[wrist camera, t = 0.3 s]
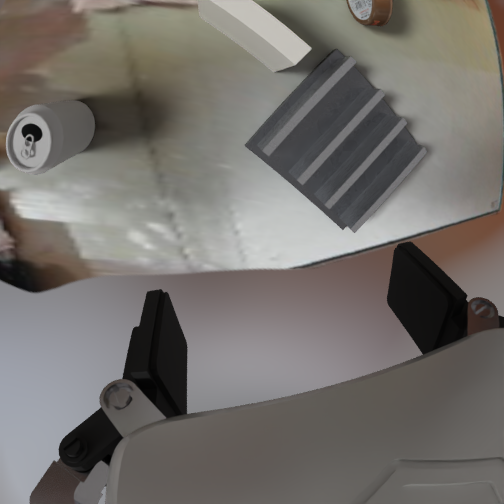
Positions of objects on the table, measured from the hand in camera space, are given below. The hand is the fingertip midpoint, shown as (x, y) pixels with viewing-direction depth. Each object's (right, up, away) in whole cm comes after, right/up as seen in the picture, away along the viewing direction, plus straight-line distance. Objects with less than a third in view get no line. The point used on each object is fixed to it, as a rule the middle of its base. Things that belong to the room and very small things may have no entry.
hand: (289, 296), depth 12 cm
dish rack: (+11, +17, +26) cm, 33 cm away
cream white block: (-2, +28, +18) cm, 33 cm away
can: (-25, +18, +20) cm, 37 cm away
